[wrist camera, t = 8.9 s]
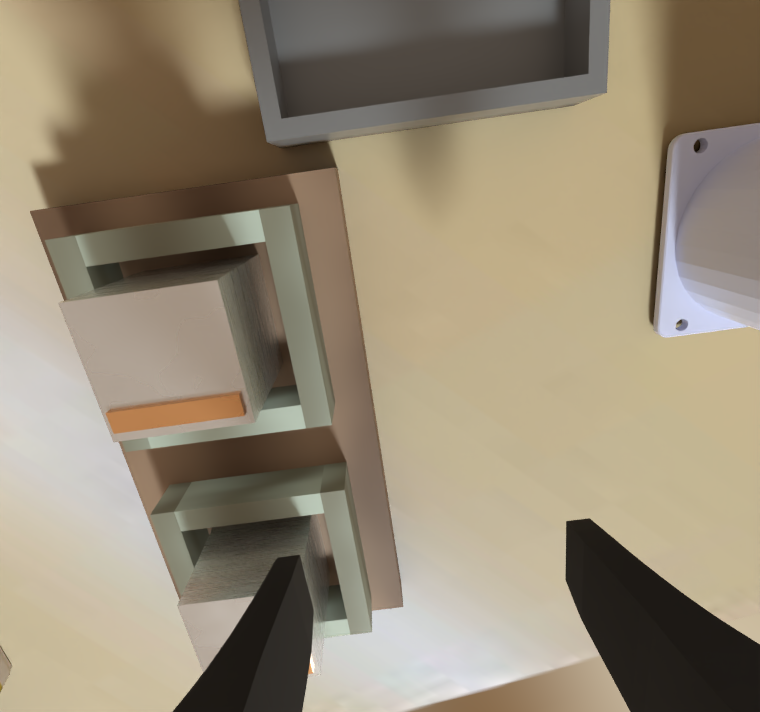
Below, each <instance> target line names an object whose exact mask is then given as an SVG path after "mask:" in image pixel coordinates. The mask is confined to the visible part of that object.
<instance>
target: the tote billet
mask: <svg viewBox="0 0 760 712" xmlns="http://www.w3.org/2000/svg"><path fill="white" fill-rule="evenodd" d="M59 306H60V308H61V311H62V313H63V316H64V318H65V321H66V323H67V326H68V329H69V331H70V334H71V336H72V339H73V341H74V344H75V346H76V349H77V351H78V354H79V356H80V359H81V361H82V364H83V366H84V369H85V371H86V374H87V376H88V379H89V381H90V384H91V386H92V389H93V391H94V394H95V396H96V399H97V401H98V404H99V407H100V409H101V412H102V414H103V417H104V419H105V422H106V424H107V427H108V429H109V432H110V434H111V437H112V439H113V442H119V441H126V440H133V439H141V438H148V437H155V436H163V435H170V434H177V433H185V432H192V431H199V430H206V429H214V428H221V427H228V426H236V425H243V424H250V423H255V422H256V420H257V418H258V416H259V414H260V412H261V409H262V407H263V405H264V403H265V401H266V399H267V397H268V395H269V392H270V390H271V388H272V386H273V384H274V382H275V380H276V378H277V375H278V373H279V371H280V369H281V367H282V365H283V359H282V355H281V350H280V346H279V341H278V337H277V333H276V328H275V324H274V320H273V315H272V311H271V307H270V302H269V298H268V294H267V289H266V285H265V281H264V276H263V272H262V267H261V263H260V259H259V254H256V255H249V256H242V257H235V258H228V259H221V260H214V261H208V262H201V263H194V264H187V265H180V266H173V267H166V268H160V269H153V270H146V271H141V272H139V273H136V274H134V275H131V276H128V277H126V278H123V279H120V280H118V281H115V282H113V283H110V284H107V285H105V286H102V287H99V288H97V289H94V290H91V291H89V292H86V293H84V294H81V295H78V296H76V297H73V298H70V299H68V300H65V301H63V302H60V303H59Z"/></svg>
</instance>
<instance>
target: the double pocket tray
mask: <svg viewBox="0 0 760 712" xmlns="http://www.w3.org/2000/svg"><path fill="white" fill-rule="evenodd" d="M30 213H31V216H32V218H33V221H34V223H35V226H36V229H37V231H38V234H39V236H40V239H41V242H42V244H43V247H44V249H45V252H46V254H47V257H48V260H49V262H50V265H51V267H52V270H53V273H54V275H55V278H56V280H57V283H58V286H59V288H60V291H61V293H62V296H63V299H64V301H65V300H68V299H70V298H73V297H76V296H78V295H81V294H84V293H86V292H89V291H91V290H94V289H97V288H99V287H102V286H105V285H107V284H110V283H113V282H115V281H118V280H120V279H123V278H126V277H128V276H131V275H134V274H136V273H139V272H141V271H146V270H153V269H160V268H166V267H173V266H180V265H187V264H194V263H201V262H208V261H214V260H221V259H228V258H235V257H242V256H249V255H256V254H259V259H260V263H261V267H262V272H263V276H264V281H265V285H266V289H267V294H268V298H269V302H270V307H271V311H272V315H273V320H274V324H275V328H276V333H277V337H278V341H279V346H280V350H281V355H282V359H283V365H282V367H281V369H280V371H279V373H278V375H277V378H276V380H275V382H274V384H273V386H272V388H271V390H270V392H269V395H268V397H267V399H266V401H265V403H264V405H263V407H262V409H261V412H260V414H259V416H258V418H257V420H256V422H255V423H250V424H243V425H236V426H228V427H221V428H214V429H206V430H199V431H192V432H185V433H177V434H170V435H163V436H155V437H148V438H141V439H133V440H126V441H119V444H120V446H121V449H122V451H123V454H124V457H125V459H126V462H127V464H128V467H129V470H130V472H131V475H132V477H133V480H134V483H135V485H136V488H137V490H138V493H139V496H140V498H141V501H142V503H143V506H144V508H145V511H146V514H147V516H148V519H149V521H150V524H151V527H152V529H153V532H154V534H155V537H156V540H157V542H158V545H159V547H160V550H161V553H162V555H163V558H164V560H165V563H166V566H167V568H168V571H169V573H170V576H171V578H172V581H173V584H174V586H175V589H176V591H177V594H178V597H179V599H181V597H182V594H183V592H184V590H185V588H186V585H187V583H188V581H189V579H190V577H191V574H192V572H193V570H194V568H195V566H196V563H197V561H198V559H199V557H200V554H201V552H202V550H203V548H204V546H205V543H206V541H207V539H208V537H209V535H210V532H211V530H212V528H213V527H220V526H227V525H235V524H243V523H251V522H259V521H267V520H275V519H283V518H290V517H298V516H306V515H314V514H317V516H318V521H319V525H320V530H321V534H322V539H323V543H324V548H325V552H326V556H327V561H328V565H329V570H330V581H329V591H328V602H327V612H326V623H325V633H324V638H327V637H335V636H344V635H352V634H360V633H368V632H372V610H381V609H389V608H397V607H403V599H402V587H401V579H400V572H399V566H398V559H397V553H396V546H395V540H394V533H393V527H392V520H391V514H390V507H389V501H388V494H387V488H386V481H385V475H384V468H383V462H382V455H381V449H380V442H379V436H378V429H377V423H376V416H375V410H374V403H373V396H372V390H371V383H370V377H369V370H368V364H367V357H366V351H365V344H364V338H363V331H362V325H361V318H360V312H359V305H358V299H357V292H356V286H355V279H354V273H353V266H352V260H351V253H350V247H349V240H348V234H347V227H346V221H345V214H344V208H343V201H342V195H341V188H340V181H339V175H338V169H337V168H335V167H334V168H327V169H321V170H314V171H307V172H300V173H293V174H286V175H279V176H272V177H265V178H258V179H251V180H244V181H237V182H230V183H223V184H216V185H209V186H202V187H195V188H188V189H181V190H174V191H167V192H160V193H153V194H146V195H139V196H132V197H125V198H118V199H111V200H104V201H97V202H90V203H83V204H76V205H69V206H62V207H55V208H48V209H41V210H34V211H30Z"/></svg>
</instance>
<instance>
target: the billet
mask: <svg viewBox="0 0 760 712" xmlns="http://www.w3.org/2000/svg"><path fill="white" fill-rule="evenodd" d="M294 555H300V557H301V561H302V565H303V569H304V573H305V577H306V581H307V585H308V589H309V593H310V597H311V601H312V605H313V609H314V617H313V636H312V652H311V659H310V665H309V671H308V677H309V676H317V675H321V665H322V655H323V644H324V633H325V623H326V612H327V602H328V591H329V581H330V570H329V565H328V561H327V556H326V552H325V548H324V543H323V539H322V534H321V530H320V525H319V521H318V516H317V514H314V515H306V516H298V517H290V518H283V519H275V520H267V521H259V522H251V523H243V524H235V525H227V526H220V527H213V528H212V530H211V532H210V535H209V537H208V539H207V541H206V543H205V546H204V548H203V550H202V552H201V554H200V557H199V559H198V561H197V563H196V566H195V568H194V570H193V572H192V574H191V577H190V579H189V581H188V583H187V585H186V588H185V590H184V592H183V594H182V597H181V599H180V601H179V603H178V605H177V606H178V609H179V611H180V614H181V616H182V619H183V622H184V624H185V627H186V629H187V632H188V634H189V637H190V639H191V642H192V645H193V647H194V650H195V652H196V655H197V657H198V660H199V662H200V665H201V668H202V670H203V673H204V671H205V670H206V669H207V667H208V666H209V664H210V663H211V662H212V660H213V659H214V657H215V656H216V654H217V653H218V652H219V650H220V649H221V647H222V646H223V644H224V643H225V642H226V640H227V639H228V637H229V636H230V634H231V633H232V631H233V630H234V628H235V627H236V625H237V623H238V622H239V620H240V619H241V617H242V615H243V614H244V612H245V611H246V609H247V608H248V606H249V604H250V603H251V601H252V599H253V598H254V596H255V594H256V593H257V591H258V589H259V588H260V586H261V584H262V583H263V581H264V579H265V577H266V576H267V574H268V572H269V570H270V568H271V567H272V565H273V563H274V561H275V560H276V559H277V558H278V557H286V556H294Z"/></svg>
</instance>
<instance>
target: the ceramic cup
mask: <svg viewBox="0 0 760 712" xmlns="http://www.w3.org/2000/svg"><path fill="white" fill-rule="evenodd" d="M10 669H11V664H10V662H9V661H8V659H7V657H6V656H5V654H4V652H3V651H2V649H1V647H0V692H1V690H2V688H3V686H4V684H5V682H6V680H7V678H8V676H9V675H10Z"/></svg>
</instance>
